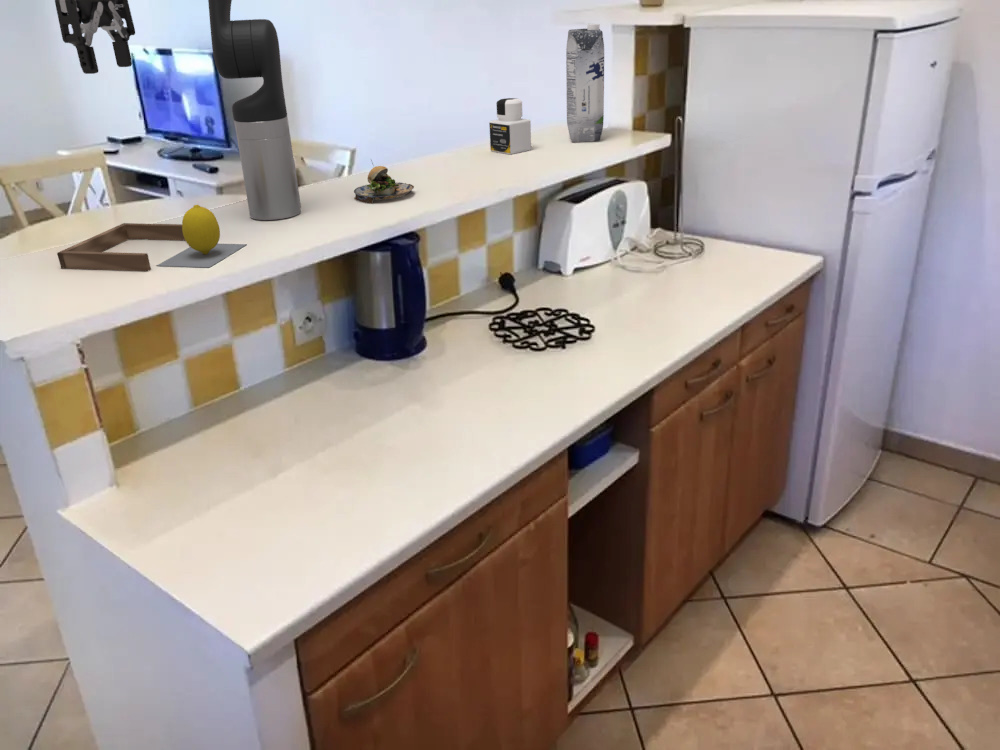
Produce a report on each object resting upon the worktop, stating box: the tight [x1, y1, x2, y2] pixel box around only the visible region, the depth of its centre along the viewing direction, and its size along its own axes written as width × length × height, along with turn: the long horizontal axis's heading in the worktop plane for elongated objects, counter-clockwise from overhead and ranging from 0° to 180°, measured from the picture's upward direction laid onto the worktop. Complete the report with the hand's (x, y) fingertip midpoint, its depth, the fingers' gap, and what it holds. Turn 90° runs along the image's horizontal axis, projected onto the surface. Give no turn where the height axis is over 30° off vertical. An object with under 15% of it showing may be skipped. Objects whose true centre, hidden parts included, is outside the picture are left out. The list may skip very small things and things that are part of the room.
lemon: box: [181, 204, 221, 254], centre depth 133 cm, size 6×6×8 cm
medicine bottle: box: [488, 97, 532, 155], centre depth 201 cm, size 7×7×12 cm
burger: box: [353, 159, 415, 205], centre depth 165 cm, size 12×12×8 cm
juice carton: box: [565, 23, 605, 143], centre depth 208 cm, size 9×10×27 cm
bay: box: [56, 222, 186, 272], centre depth 137 cm, size 17×15×2 cm
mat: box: [155, 242, 247, 269], centre depth 135 cm, size 12×9×1 cm
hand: (108, 70), depth 130 cm, fingers open, 8 cm apart
